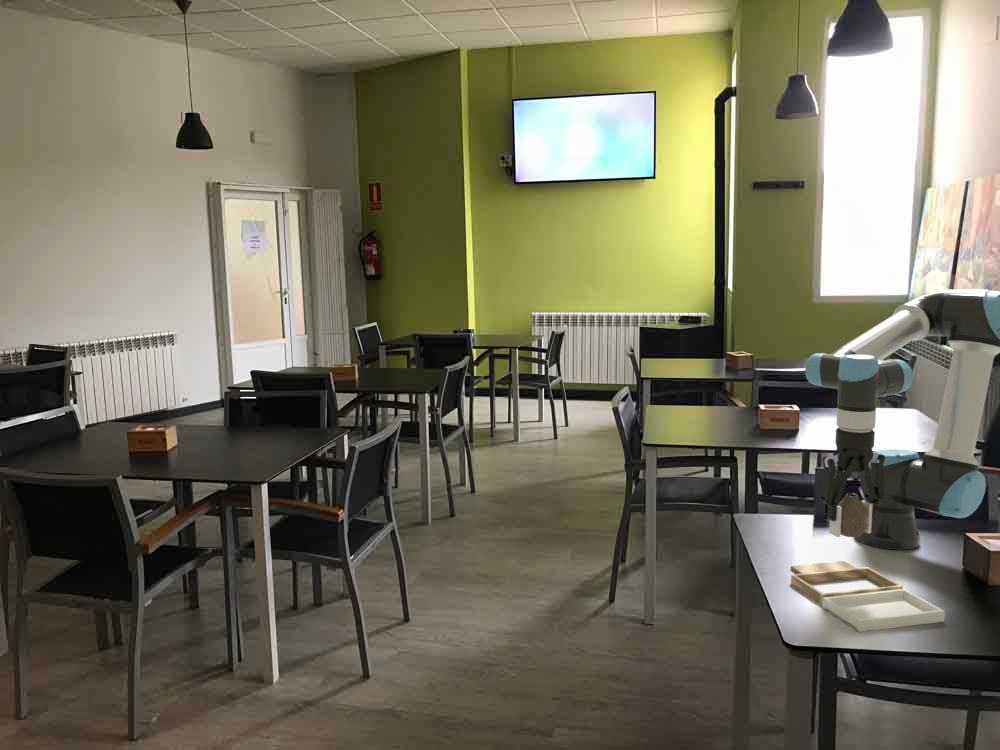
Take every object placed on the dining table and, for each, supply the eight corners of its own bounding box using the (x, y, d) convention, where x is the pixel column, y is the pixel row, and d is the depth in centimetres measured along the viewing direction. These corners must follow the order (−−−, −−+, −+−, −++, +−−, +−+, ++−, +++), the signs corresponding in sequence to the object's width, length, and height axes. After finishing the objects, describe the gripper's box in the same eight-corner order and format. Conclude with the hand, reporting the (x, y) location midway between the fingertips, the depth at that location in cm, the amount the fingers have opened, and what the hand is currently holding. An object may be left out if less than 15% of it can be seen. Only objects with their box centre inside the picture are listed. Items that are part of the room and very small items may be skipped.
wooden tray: (867, 575, 189) (867, 566, 188) (902, 595, 178) (902, 586, 177) (790, 583, 184) (791, 574, 184) (822, 604, 173) (822, 595, 173)
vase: (847, 541, 175) (849, 501, 174) (825, 530, 182) (827, 491, 180) (874, 537, 177) (876, 498, 176) (852, 527, 183) (854, 489, 182)
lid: (843, 564, 195) (844, 560, 195) (860, 573, 190) (860, 570, 189) (790, 569, 192) (790, 566, 192) (806, 579, 186) (806, 575, 186)
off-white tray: (903, 598, 176) (904, 588, 175) (944, 621, 165) (944, 611, 164) (822, 607, 171) (823, 597, 171) (858, 632, 160) (859, 621, 160)
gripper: (883, 421, 182) (878, 523, 185) (803, 427, 177) (799, 531, 181) (908, 428, 174) (901, 534, 178) (824, 435, 170) (820, 543, 173)
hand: (850, 532), depth 179 cm, fingers closed on vase, 7 cm apart
